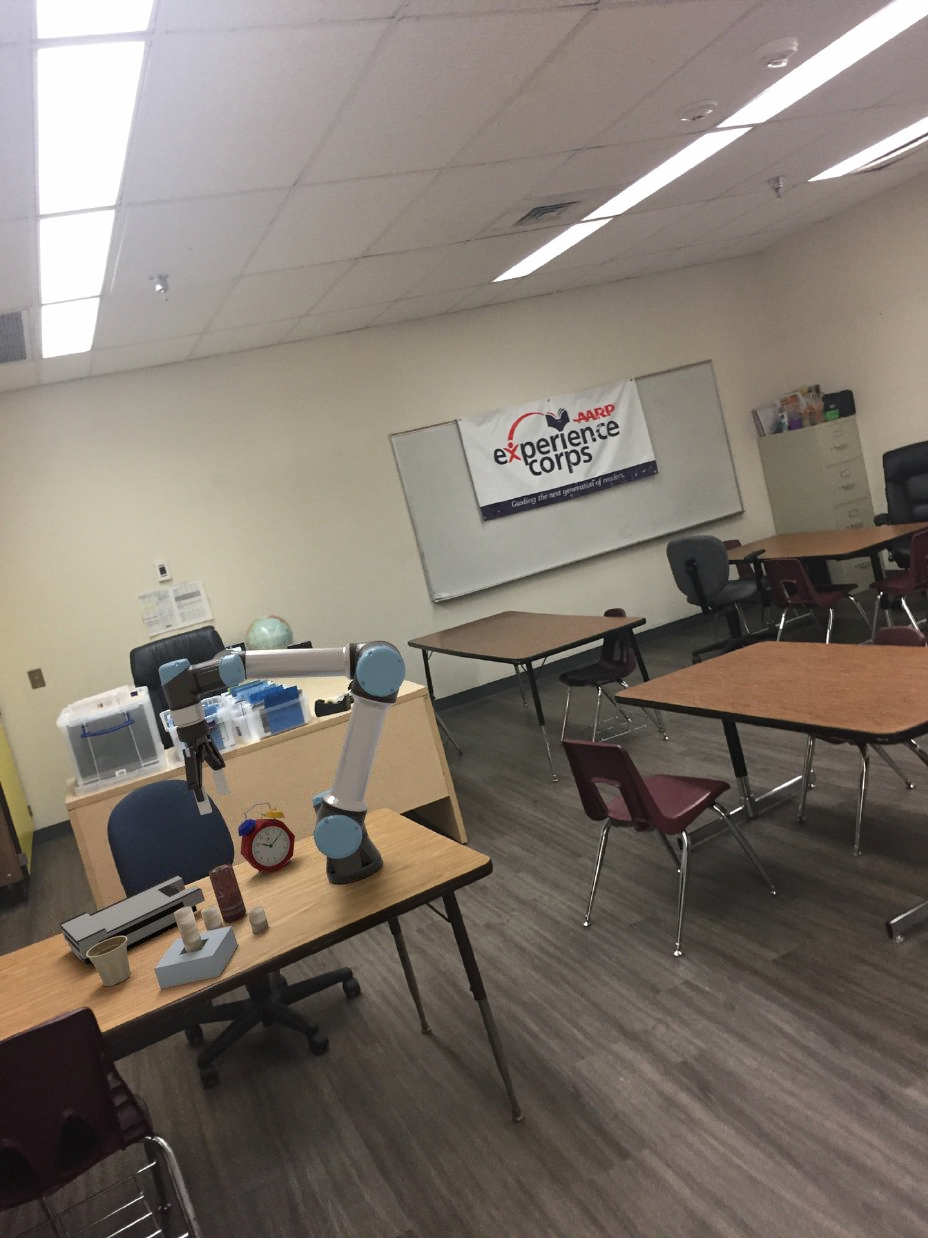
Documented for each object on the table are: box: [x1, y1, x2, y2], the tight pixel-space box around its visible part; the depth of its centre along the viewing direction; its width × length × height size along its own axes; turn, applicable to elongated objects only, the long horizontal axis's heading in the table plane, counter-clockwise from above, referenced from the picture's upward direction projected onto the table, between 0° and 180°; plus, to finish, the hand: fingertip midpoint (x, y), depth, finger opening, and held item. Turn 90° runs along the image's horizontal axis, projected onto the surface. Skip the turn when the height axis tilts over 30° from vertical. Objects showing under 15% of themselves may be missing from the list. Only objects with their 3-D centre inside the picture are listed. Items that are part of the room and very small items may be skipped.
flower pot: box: [86, 936, 132, 987], centre depth 218 cm, size 9×9×9 cm
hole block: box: [154, 925, 239, 990], centre depth 213 cm, size 14×14×5 cm
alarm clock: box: [237, 801, 296, 877], centre depth 265 cm, size 15×9×20 cm, turn 123°
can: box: [208, 862, 247, 924], centre depth 236 cm, size 6×6×14 cm
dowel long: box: [174, 906, 204, 953], centre depth 213 cm, size 4×4×14 cm
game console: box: [59, 874, 206, 966], centre depth 245 cm, size 21×32×8 cm, turn 127°
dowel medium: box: [200, 904, 225, 932], centre depth 226 cm, size 4×4×8 cm
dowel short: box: [247, 905, 270, 934], centre depth 225 cm, size 4×4×5 cm
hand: (215, 803), depth 228 cm, fingers open, 13 cm apart
